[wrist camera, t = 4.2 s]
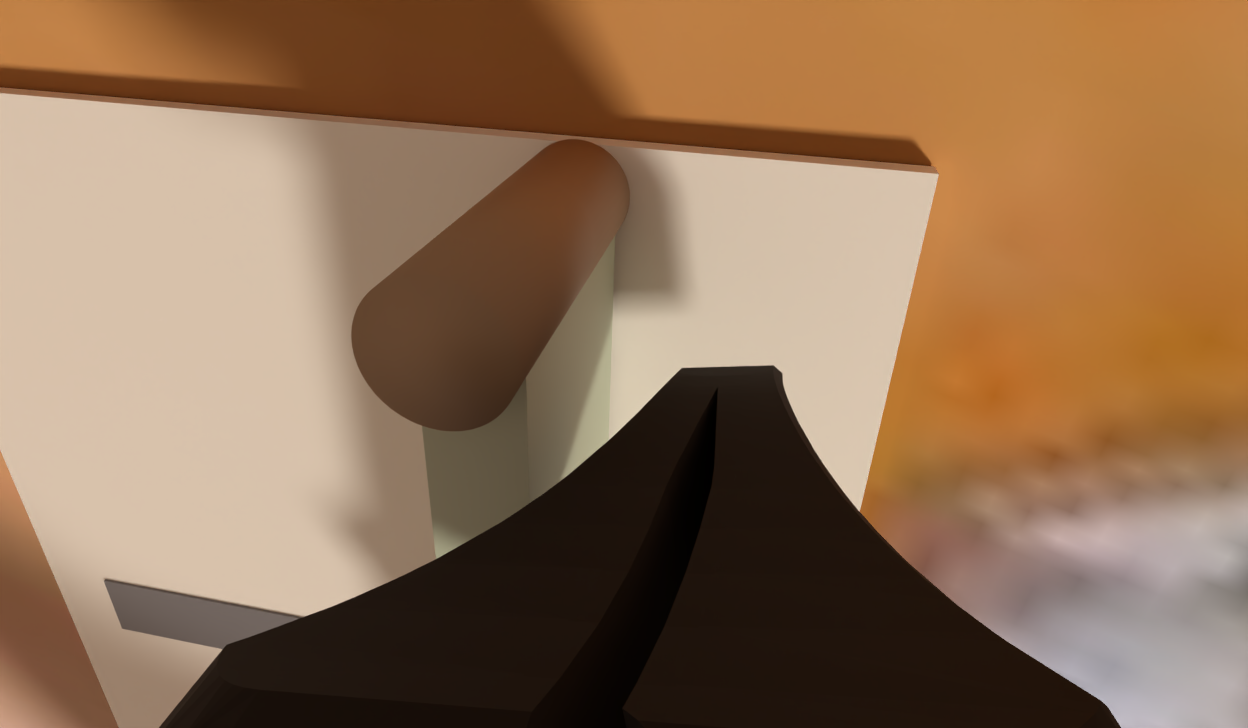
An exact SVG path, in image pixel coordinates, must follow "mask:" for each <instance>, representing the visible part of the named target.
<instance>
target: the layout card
mask: <svg viewBox="0 0 1248 728" xmlns="http://www.w3.org/2000/svg"><path fill="white" fill-rule="evenodd" d="M567 139H579V140H585V141H588V142H592V143H594V144H596V145H598V146H600V147H602V148H603V149H605V150H606V151H607V152H609V153H610V154H611V155H612V156H613V157H614V158H615V159H616V160H617V162H618V163H619V164H620V166H621V167H622V169H623V171H624V173H625V175H626V178H627V181H628V184H629V190H630V204H629V209H628V213H627V216H626V218H625V220H624V222H623V224H622V225H621V227H620V229H619V230H618V232H617V233H616V235H615V261H614V291H613V321H612V351H611V381H610V411H609V440H610V439H611V438H612V437H613V436H614V435H615V434H616V433H617V432H618V431H619V430H620V429H621V428H622V427H623V426H624V425H625V424H626V423H627V422H629V421H630V420H631V419H632V418H633V417H634V416H635V415H636V414H637V413H638V412H639V411H640V410H641V409H642V408H643V407H644V406H645V405H646V403H647V402H648V401H649V400H650V399H651V398H652V397H653V396H654V395H655V394H656V393H657V392H658V391H659V390H660V389H661V388H662V387H663V386H664V385H665V384H666V383H667V382H668V381H669V380H670V379H671V378H672V377H673V376H674V375H675V374H676V373H677V372H678V371H679V370H680V369H681V368H695V367H730V366H766V365H774V366H775V367H776V368H777V369H778V370H779V371H780V372H782V375H783V385H784V389H785V392H786V395H787V398H788V400H789V403H790V405H791V407H792V410H793V412H794V414H795V416H796V418H797V420H798V422H799V424H800V426H801V428H802V429H803V431H804V433H805V435H806V436H807V438H808V440H809V442H810V443H811V445H812V447H813V449H814V450H815V452H816V453H817V455H818V456H819V458H820V459H821V461H822V463H823V464H824V466H825V467H826V468H827V470H828V471H829V473H830V474H831V475H832V477H833V478H834V480H835V481H836V482H837V484H838V485H839V487H840V488H841V489H842V491H843V492H844V493H845V494H846V496H847V497H848V498H849V500H850V501H851V502H852V503H853V504H854V506H855V507H856V508H857V509H858V511H859V512H860V508H861V504H862V499H863V495H864V491H865V487H866V482H867V478H868V474H869V470H870V465H871V461H872V457H873V453H874V448H875V444H876V440H877V435H878V431H879V427H880V423H881V418H882V414H883V410H884V406H885V401H886V397H887V393H888V389H889V384H890V380H891V376H892V371H893V367H894V363H895V359H896V354H897V350H898V346H899V342H900V337H901V333H902V329H903V325H904V320H905V316H906V312H907V307H908V303H909V299H910V295H911V290H912V286H913V282H914V278H915V273H916V269H917V265H918V261H919V256H920V252H921V248H922V243H923V239H924V235H925V231H926V226H927V222H928V218H929V214H930V209H931V205H932V201H933V197H934V192H935V188H936V184H937V180H938V175H939V173H938V172H937V170H936V168H935V167H934V166H922V165H910V164H899V163H887V162H875V161H863V160H851V159H840V158H828V157H816V156H804V155H793V154H781V153H769V152H757V151H745V150H734V149H722V148H710V147H698V146H686V145H675V144H663V143H651V142H639V141H628V140H616V139H604V138H592V137H580V136H569V135H557V134H545V133H533V132H522V131H510V130H498V129H486V128H474V127H463V126H451V125H439V124H427V123H415V122H404V121H392V120H380V119H368V118H357V117H345V116H333V115H321V114H309V113H298V112H286V111H274V110H262V109H251V108H239V107H227V106H215V105H203V104H192V103H180V102H168V101H156V100H144V99H133V98H121V97H109V96H97V95H86V94H74V93H62V92H50V91H38V90H27V89H15V88H3V87H0V450H1V453H2V455H3V457H4V460H5V462H6V464H7V467H8V469H9V472H10V474H11V476H12V479H13V481H14V483H15V486H16V488H17V490H18V493H19V495H20V497H21V500H22V502H23V504H24V507H25V509H26V511H27V514H28V516H29V518H30V521H31V523H32V525H33V528H34V530H35V533H36V535H37V537H38V540H39V542H40V544H41V547H42V549H43V551H44V554H45V556H46V558H47V561H48V563H49V565H50V568H51V570H52V572H53V575H54V577H55V579H56V582H57V584H58V586H59V589H60V591H61V593H62V596H63V598H64V601H65V603H66V605H67V608H68V610H69V612H70V615H71V617H72V619H73V622H74V624H75V626H76V629H77V631H78V633H79V636H80V638H81V640H82V643H83V645H84V647H85V650H86V652H87V654H88V657H89V659H90V662H91V664H92V666H93V669H94V671H95V673H96V676H97V678H98V680H99V683H100V685H101V687H102V690H103V692H104V694H105V697H106V699H107V701H108V704H109V706H110V708H111V711H112V713H113V715H114V718H115V720H116V723H117V725H118V727H119V728H159V727H160V726H161V724H162V723H163V722H164V721H165V719H166V718H167V717H168V716H169V714H170V713H171V712H172V711H173V710H174V708H175V707H176V706H177V705H178V703H179V702H180V701H181V700H182V698H183V697H184V696H185V695H186V694H187V692H188V691H189V690H190V689H191V687H192V686H193V685H194V684H195V682H196V681H197V680H198V679H199V678H200V676H201V675H202V674H203V673H204V671H205V670H206V669H207V668H208V667H209V665H210V664H211V663H212V662H213V660H214V659H215V658H216V657H217V656H218V654H219V653H220V652H221V651H222V649H223V648H224V647H225V646H226V645H227V644H230V643H233V642H236V641H239V640H242V639H245V638H248V637H251V636H254V635H256V634H259V633H262V632H264V631H267V630H270V629H273V628H275V627H278V626H281V625H283V624H286V623H289V622H292V621H294V620H297V619H300V618H302V617H305V616H308V615H310V614H313V613H316V612H319V611H321V610H324V609H327V608H329V607H332V606H334V605H337V604H339V603H342V602H344V601H346V600H349V599H351V598H354V597H356V596H358V595H361V594H363V593H365V592H367V591H370V590H372V589H374V588H376V587H379V586H381V585H383V584H385V583H388V582H390V581H392V580H394V579H396V578H398V577H401V576H403V575H405V574H407V573H409V572H411V571H413V570H415V569H417V568H419V567H421V566H423V565H425V564H427V563H429V562H431V561H433V560H435V559H436V555H435V545H434V536H433V526H432V517H431V507H430V498H429V488H428V479H427V469H426V460H425V450H424V441H423V432H422V426H421V425H419V424H416V423H414V422H412V421H410V420H408V419H406V418H404V417H402V416H401V415H399V414H398V413H396V412H395V411H393V410H392V409H391V408H389V407H388V406H387V405H386V404H385V403H384V402H382V400H381V399H380V398H379V397H378V396H377V395H376V394H375V393H374V392H373V391H372V389H371V388H370V387H369V385H368V384H367V382H366V381H365V379H364V378H363V376H362V374H361V372H360V370H359V368H358V366H357V363H356V360H355V357H354V353H353V348H352V340H351V330H352V322H353V318H354V315H355V312H356V309H357V307H358V305H359V304H360V302H361V300H362V299H363V298H364V297H365V295H366V294H367V293H368V292H369V291H370V290H371V289H373V288H374V287H375V286H376V285H377V284H379V283H380V282H381V281H382V280H384V279H385V278H386V277H387V276H389V275H390V274H391V273H392V272H393V271H395V270H396V269H397V268H398V267H400V266H401V265H402V264H403V263H404V262H406V261H407V260H408V259H409V258H411V257H412V256H413V255H414V254H415V253H417V252H418V251H419V250H420V249H422V248H423V247H424V246H425V245H426V244H428V243H429V242H430V241H431V240H433V239H434V238H435V237H436V236H437V235H439V234H440V233H441V232H442V231H444V230H445V229H446V228H447V227H448V226H450V225H451V224H452V223H453V222H455V221H456V220H457V219H458V218H459V217H461V216H462V215H463V214H464V213H466V212H467V211H468V210H469V209H470V208H472V207H473V206H474V205H475V204H477V203H478V202H479V201H480V200H481V199H483V198H484V197H485V196H486V195H488V194H489V193H490V192H491V191H492V190H494V189H495V188H496V187H497V186H499V185H500V184H501V183H502V182H503V181H505V180H506V179H507V178H508V177H510V176H511V175H512V174H513V173H515V172H516V171H517V170H518V169H519V168H521V167H522V166H523V165H524V164H526V163H527V162H528V161H529V160H530V159H532V158H533V157H534V156H535V155H537V154H538V153H539V152H540V151H541V150H543V149H544V148H545V147H547V146H549V145H550V144H552V143H555V142H557V141H561V140H567Z"/></svg>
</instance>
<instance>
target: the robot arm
mask: <svg viewBox="0 0 1248 728" xmlns="http://www.w3.org/2000/svg"><path fill="white" fill-rule="evenodd" d="M159 728H1121V727H1120V725H1119V724H1118V722H1117V721H1116V719H1115V718H1114V716H1113V715H1112V713H1111V712H1110V710H1109V708H1108V707H1107V706H1106V705H1105V704H1104V703H1103V702H1102V701H1100V700H1099V699H1097V698H1096V697H1094V696H1092V695H1091V694H1089V693H1088V692H1086V691H1084V690H1083V689H1081V688H1080V687H1078V686H1077V685H1075V684H1073V683H1072V682H1070V681H1069V680H1067V679H1065V678H1064V677H1062V676H1061V675H1059V674H1058V673H1056V672H1054V671H1053V670H1051V669H1050V668H1048V667H1046V666H1045V665H1043V664H1042V663H1040V662H1038V661H1037V660H1035V659H1034V658H1032V657H1031V656H1029V655H1027V654H1026V653H1024V652H1023V651H1021V650H1019V649H1018V648H1016V647H1015V646H1013V645H1012V644H1010V643H1008V642H1007V641H1005V640H1004V639H1002V638H1001V637H1000V636H998V635H997V634H995V633H994V632H993V631H991V630H990V629H988V628H987V627H986V626H984V625H983V624H982V623H980V622H979V621H978V620H976V619H975V618H974V617H972V616H971V615H970V614H968V613H967V612H966V611H964V610H963V609H962V608H960V607H959V606H958V605H956V604H955V603H954V602H953V601H952V600H950V599H949V598H948V597H947V596H946V595H945V594H944V593H942V592H941V591H940V590H939V589H938V588H937V587H935V586H934V585H933V584H932V583H931V582H930V581H929V580H927V579H926V578H925V577H924V576H923V575H922V574H921V573H919V572H918V571H917V570H916V569H915V568H914V567H912V566H911V565H910V564H909V563H908V562H907V561H906V560H905V559H904V558H903V557H902V556H901V555H900V554H899V553H898V552H897V551H896V550H895V549H894V548H893V547H892V546H891V545H890V544H889V543H888V542H887V541H886V540H885V539H884V538H883V537H882V536H881V535H880V534H879V533H878V532H877V531H876V530H875V529H874V527H873V526H872V525H871V524H870V523H869V522H868V521H867V520H866V518H865V517H864V516H863V515H862V514H861V513H860V512H859V511H858V509H857V508H856V507H855V506H854V504H853V503H852V502H851V501H850V500H849V498H848V497H847V496H846V494H845V493H844V492H843V491H842V489H841V488H840V487H839V485H838V484H837V482H836V481H835V480H834V478H833V477H832V475H831V474H830V473H829V471H828V470H827V468H826V467H825V466H824V464H823V463H822V461H821V459H820V458H819V456H818V455H817V453H816V452H815V450H814V449H813V447H812V445H811V443H810V442H809V440H808V438H807V436H806V435H805V433H804V431H803V429H802V428H801V426H800V424H799V422H798V420H797V418H796V416H795V414H794V412H793V410H792V407H791V405H790V403H789V400H788V398H787V395H786V392H785V389H784V385H783V375H782V372H780V371H779V370H778V369H777V368H776V367H775V366H774V365H766V366H730V367H695V368H681V369H680V370H679V371H678V372H677V373H676V374H675V375H674V376H673V377H672V378H671V379H670V380H669V381H668V382H667V383H666V384H665V385H664V386H663V387H662V388H661V389H660V390H659V391H658V392H657V393H656V394H655V395H654V396H653V397H652V398H651V399H650V400H649V401H648V402H647V403H646V405H645V406H644V407H643V408H642V409H641V410H640V411H639V412H638V413H637V414H636V415H635V416H634V417H633V418H632V419H631V420H630V421H629V422H627V423H626V424H625V425H624V426H623V427H622V428H621V429H620V430H619V431H618V432H617V433H616V434H615V435H614V436H613V437H612V438H611V439H610V440H608V441H607V442H606V443H605V444H604V445H603V446H601V447H600V448H599V449H598V450H597V451H596V452H594V453H593V454H592V455H591V456H590V457H589V458H587V459H586V460H585V461H584V462H583V463H582V464H580V465H579V466H578V467H577V468H576V469H575V470H573V471H572V472H571V473H570V474H569V475H567V476H566V477H565V478H564V479H562V480H561V481H560V482H558V483H557V484H556V485H554V486H553V487H552V488H550V489H549V490H548V491H546V492H545V493H544V494H542V495H541V496H539V497H538V498H536V499H535V500H533V501H532V502H531V503H529V504H528V505H526V506H525V507H523V508H522V509H520V510H519V511H517V512H516V513H514V514H513V515H511V516H510V517H508V518H507V519H505V520H503V521H502V522H500V523H499V524H497V525H495V526H493V527H492V528H490V529H488V530H486V531H485V532H483V533H481V534H479V535H478V536H476V537H474V538H472V539H471V540H469V541H467V542H465V543H464V544H462V545H460V546H458V547H457V548H455V549H453V550H451V551H450V552H448V553H446V554H444V555H443V556H441V557H439V558H437V559H435V560H433V561H431V562H429V563H427V564H425V565H423V566H421V567H419V568H417V569H415V570H413V571H411V572H409V573H407V574H405V575H403V576H401V577H398V578H396V579H394V580H392V581H390V582H388V583H385V584H383V585H381V586H379V587H376V588H374V589H372V590H370V591H367V592H365V593H363V594H361V595H358V596H356V597H354V598H351V599H349V600H346V601H344V602H342V603H339V604H337V605H334V606H332V607H329V608H327V609H324V610H321V611H319V612H316V613H313V614H310V615H308V616H305V617H302V618H300V619H297V620H294V621H292V622H289V623H286V624H283V625H281V626H278V627H275V628H273V629H270V630H267V631H264V632H262V633H259V634H256V635H254V636H251V637H248V638H245V639H242V640H239V641H236V642H233V643H230V644H227V645H226V646H225V647H224V648H223V649H222V651H221V652H220V653H219V654H218V656H217V657H216V658H215V659H214V660H213V662H212V663H211V664H210V665H209V667H208V668H207V669H206V670H205V671H204V673H203V674H202V675H201V676H200V678H199V679H198V680H197V681H196V682H195V684H194V685H193V686H192V687H191V689H190V690H189V691H188V692H187V694H186V695H185V696H184V697H183V698H182V700H181V701H180V702H179V703H178V705H177V706H176V707H175V708H174V710H173V711H172V712H171V713H170V714H169V716H168V717H167V718H166V719H165V721H164V722H163V723H162V724H161V726H160V727H159Z"/></svg>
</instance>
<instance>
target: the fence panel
mask: <svg viewBox="0 0 1248 728" xmlns="http://www.w3.org/2000/svg"><path fill="white" fill-rule="evenodd" d="M629 204H630V190H629V184H628V181H627V178H626V175H625V173H624V171H623V169H622V167H621V166H620V164H619V163H618V162H617V160H616V159H615V158H614V157H613V156H612V155H611V154H610V153H609V152H607V151H606V150H605V149H603V148H602V147H600V146H598V145H596V144H594V143H592V142H588V141H585V140H579V139H567V140H561V141H557V142H555V143H552V144H550V145H549V146H547V147H545V148H544V149H543V150H541V151H540V152H539V153H538V154H537V155H535V156H534V157H533V158H532V159H530V160H529V161H528V162H527V163H526V164H524V165H523V166H522V167H521V168H519V169H518V170H517V171H516V172H515V173H513V174H512V175H511V176H510V177H508V178H507V179H506V180H505V181H503V182H502V183H501V184H500V185H499V186H497V187H496V188H495V189H494V190H492V191H491V192H490V193H489V194H488V195H486V196H485V197H484V198H483V199H481V200H480V201H479V202H478V203H477V204H475V205H474V206H473V207H472V208H470V209H469V210H468V211H467V212H466V213H464V214H463V215H462V216H461V217H459V218H458V219H457V220H456V221H455V222H453V223H452V224H451V225H450V226H448V227H447V228H446V229H445V230H444V231H442V232H441V233H440V234H439V235H437V236H436V237H435V238H434V239H433V240H431V241H430V242H429V243H428V244H426V245H425V246H424V247H423V248H422V249H420V250H419V251H418V252H417V253H415V254H414V255H413V256H412V257H411V258H409V259H408V260H407V261H406V262H404V263H403V264H402V265H401V266H400V267H398V268H397V269H396V270H395V271H393V272H392V273H391V274H390V275H389V276H387V277H386V278H385V279H384V280H382V281H381V282H380V283H379V284H377V285H376V286H375V287H374V288H373V289H371V290H370V291H369V292H368V293H367V294H366V295H365V297H364V298H363V299H362V300H361V302H360V304H359V305H358V307H357V309H356V312H355V315H354V318H353V322H352V330H351V340H352V348H353V353H354V357H355V360H356V363H357V366H358V368H359V370H360V372H361V374H362V376H363V378H364V379H365V381H366V382H367V384H368V385H369V387H370V388H371V389H372V391H373V392H374V393H375V394H376V395H377V396H378V397H379V398H380V399H381V400H382V402H384V403H385V404H386V405H387V406H388V407H389V408H391V409H392V410H393V411H395V412H396V413H398V414H399V415H401V416H402V417H404V418H406V419H408V420H410V421H412V422H414V423H416V424H419V425H421V426H422V432H423V441H424V450H425V460H426V469H427V479H428V488H429V498H430V507H431V517H432V526H433V536H434V545H435V555H436V559H437V558H439V557H441V556H443V555H444V554H446V553H448V552H450V551H451V550H453V549H455V548H457V547H458V546H460V545H462V544H464V543H465V542H467V541H469V540H471V539H472V538H474V537H476V536H478V535H479V534H481V533H483V532H485V531H486V530H488V529H490V528H492V527H493V526H495V525H497V524H499V523H500V522H502V521H503V520H505V519H507V518H508V517H510V516H511V515H513V514H514V513H516V512H517V511H519V510H520V509H522V508H523V507H525V506H526V505H528V504H529V503H531V502H532V501H533V500H535V499H536V498H538V497H539V496H541V495H542V494H544V493H545V492H546V491H548V490H549V489H550V488H552V487H553V486H554V485H556V484H557V483H558V482H560V481H561V480H562V479H564V478H565V477H566V476H567V475H569V474H570V473H571V472H572V471H573V470H575V469H576V468H577V467H578V466H579V465H580V464H582V463H583V462H584V461H585V460H586V459H587V458H589V457H590V456H591V455H592V454H593V453H594V452H596V451H597V450H598V449H599V448H600V447H601V446H603V445H604V444H605V443H606V442H607V441H608V440H609V411H610V381H611V351H612V321H613V291H614V261H615V235H616V233H617V232H618V230H619V229H620V227H621V225H622V224H623V222H624V220H625V218H626V216H627V213H628V209H629Z"/></svg>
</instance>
